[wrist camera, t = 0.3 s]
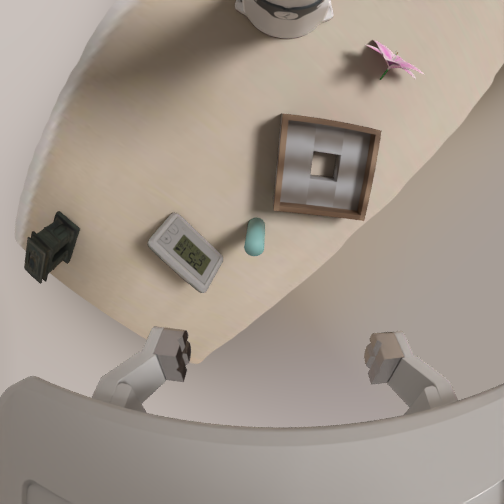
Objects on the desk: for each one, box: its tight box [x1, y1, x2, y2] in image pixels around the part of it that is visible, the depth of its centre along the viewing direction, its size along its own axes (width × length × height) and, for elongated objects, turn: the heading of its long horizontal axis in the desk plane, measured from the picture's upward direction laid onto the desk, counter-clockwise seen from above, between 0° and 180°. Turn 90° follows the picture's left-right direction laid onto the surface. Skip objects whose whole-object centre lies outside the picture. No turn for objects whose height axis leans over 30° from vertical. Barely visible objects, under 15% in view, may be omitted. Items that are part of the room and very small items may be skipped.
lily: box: [365, 40, 423, 80], centre depth 37 cm, size 12×12×10 cm
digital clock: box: [148, 213, 223, 293], centre depth 58 cm, size 16×9×11 cm, turn 31°
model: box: [24, 211, 80, 283], centre depth 57 cm, size 14×9×15 cm, turn 144°
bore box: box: [273, 113, 381, 221], centre depth 49 cm, size 18×18×6 cm
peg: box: [244, 218, 265, 256], centre depth 55 cm, size 4×4×10 cm
